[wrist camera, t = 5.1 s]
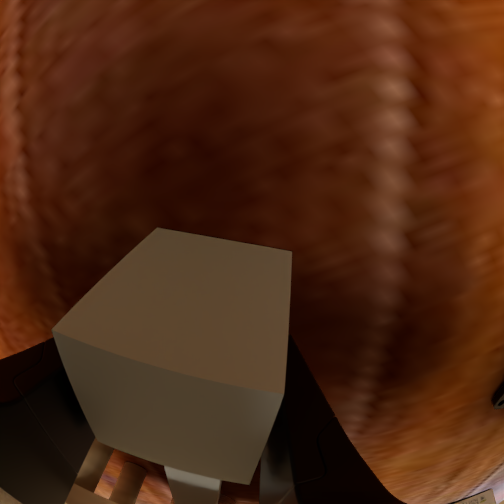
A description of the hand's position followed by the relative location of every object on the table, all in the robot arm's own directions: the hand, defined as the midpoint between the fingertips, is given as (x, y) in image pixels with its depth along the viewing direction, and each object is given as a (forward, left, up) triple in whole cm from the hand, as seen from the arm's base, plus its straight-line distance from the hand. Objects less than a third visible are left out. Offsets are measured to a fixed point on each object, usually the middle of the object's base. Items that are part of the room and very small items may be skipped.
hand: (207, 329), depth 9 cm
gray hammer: (0, +7, -1) cm, 8 cm away
